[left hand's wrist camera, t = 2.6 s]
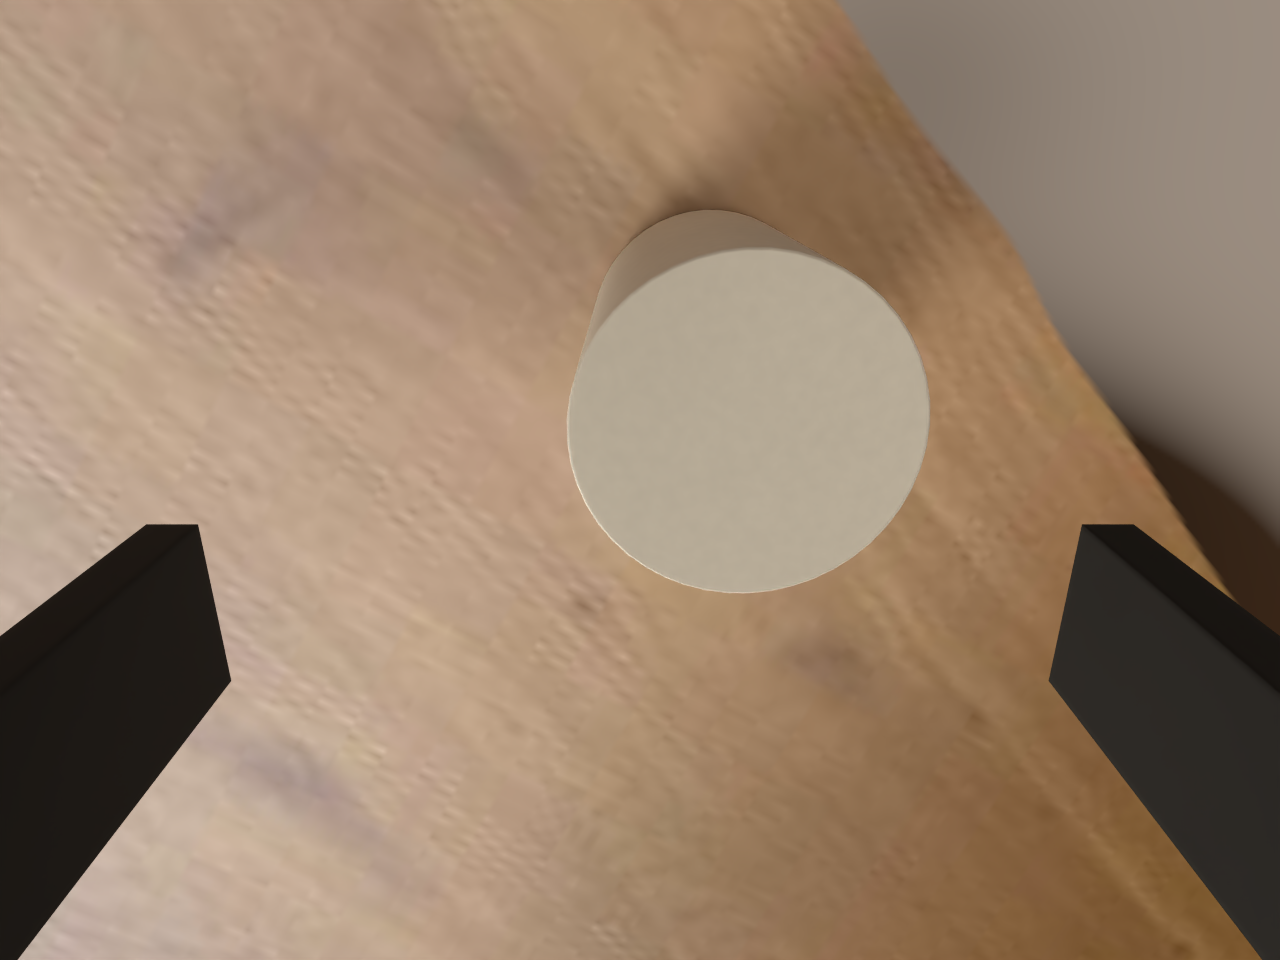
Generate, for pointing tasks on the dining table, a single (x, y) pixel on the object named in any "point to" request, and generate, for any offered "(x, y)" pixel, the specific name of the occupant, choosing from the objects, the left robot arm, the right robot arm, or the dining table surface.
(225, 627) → the dining table surface
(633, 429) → the canister
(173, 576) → the left robot arm
